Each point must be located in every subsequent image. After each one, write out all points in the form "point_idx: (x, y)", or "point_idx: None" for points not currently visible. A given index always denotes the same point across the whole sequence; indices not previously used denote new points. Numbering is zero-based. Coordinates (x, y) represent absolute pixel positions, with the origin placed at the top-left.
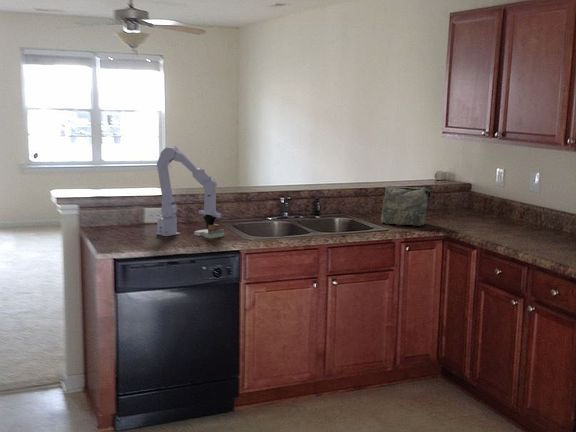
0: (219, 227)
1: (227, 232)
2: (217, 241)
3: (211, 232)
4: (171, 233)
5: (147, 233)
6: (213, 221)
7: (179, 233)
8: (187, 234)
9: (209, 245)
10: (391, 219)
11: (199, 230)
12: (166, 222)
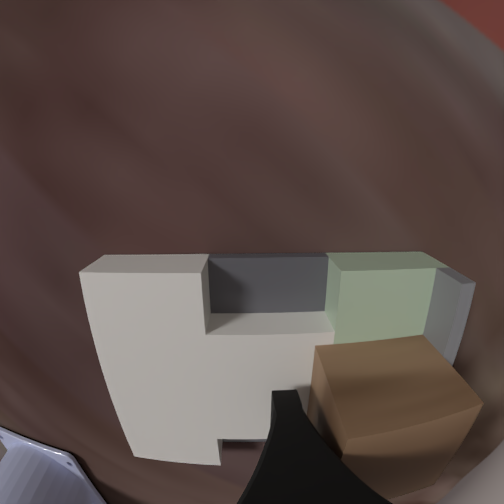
0: (461, 379)
1: (257, 19)
2: None
3: None
4: (89, 498)
5: None
6: (366, 499)
7: (75, 464)
8: (93, 435)
9: (463, 473)
10: None
11: (121, 413)
12: None
